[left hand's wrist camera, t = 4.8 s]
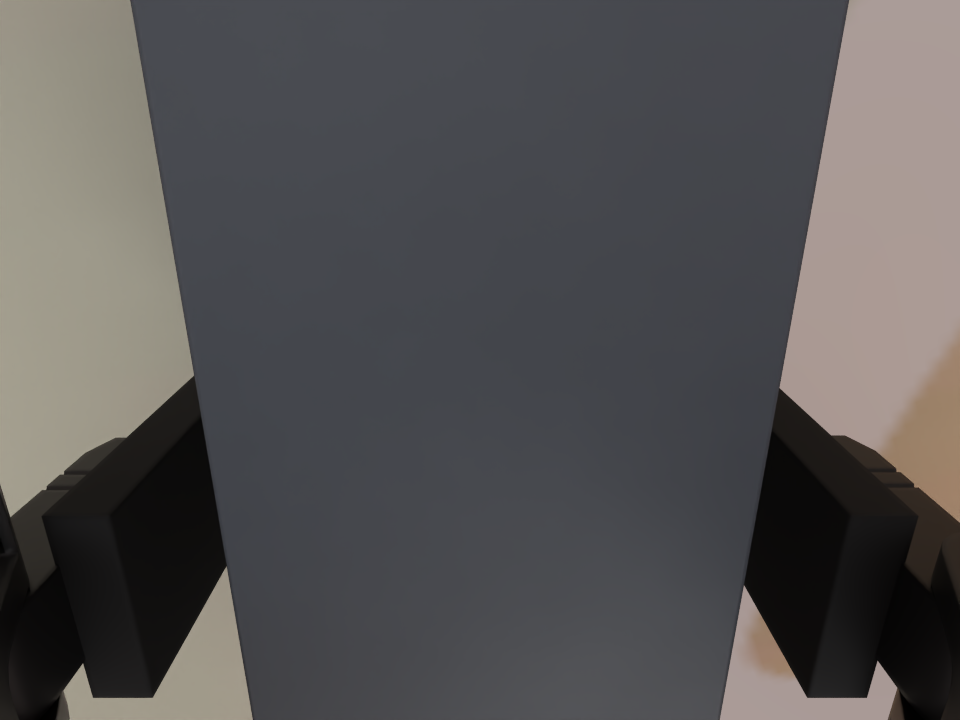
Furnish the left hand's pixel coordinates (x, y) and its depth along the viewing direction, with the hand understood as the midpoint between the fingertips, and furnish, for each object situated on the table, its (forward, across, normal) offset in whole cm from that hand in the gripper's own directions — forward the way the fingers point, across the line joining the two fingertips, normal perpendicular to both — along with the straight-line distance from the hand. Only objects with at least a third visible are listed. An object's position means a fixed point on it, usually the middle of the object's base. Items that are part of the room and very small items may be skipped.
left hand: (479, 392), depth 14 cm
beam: (+1, 0, -26) cm, 26 cm away
